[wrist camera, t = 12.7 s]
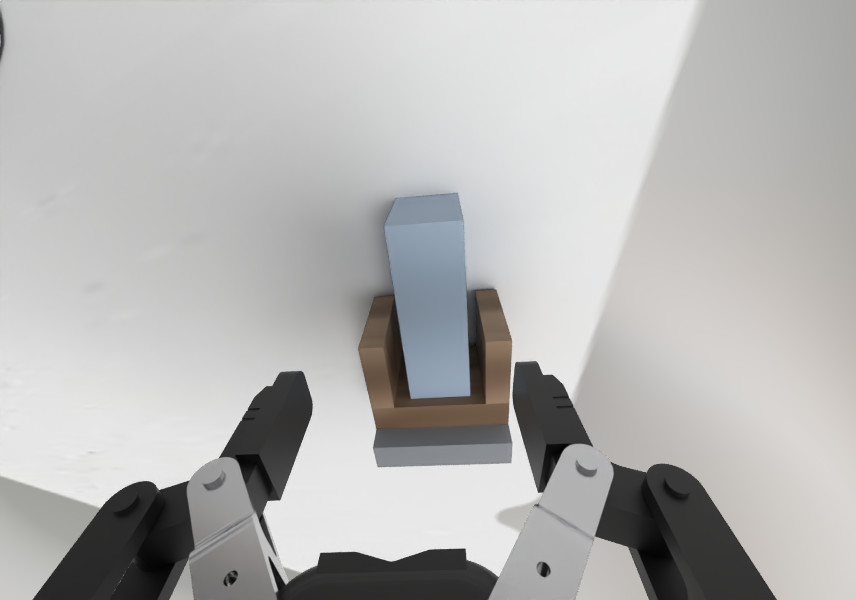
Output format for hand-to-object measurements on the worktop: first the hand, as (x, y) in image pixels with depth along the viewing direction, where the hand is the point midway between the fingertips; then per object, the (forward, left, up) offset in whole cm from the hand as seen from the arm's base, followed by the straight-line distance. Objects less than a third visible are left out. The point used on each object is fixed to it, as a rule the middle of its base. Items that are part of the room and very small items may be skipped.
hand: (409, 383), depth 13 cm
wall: (-3, -11, -13) cm, 17 cm away
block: (-2, -6, -13) cm, 14 cm away
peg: (0, -2, -13) cm, 13 cm away
